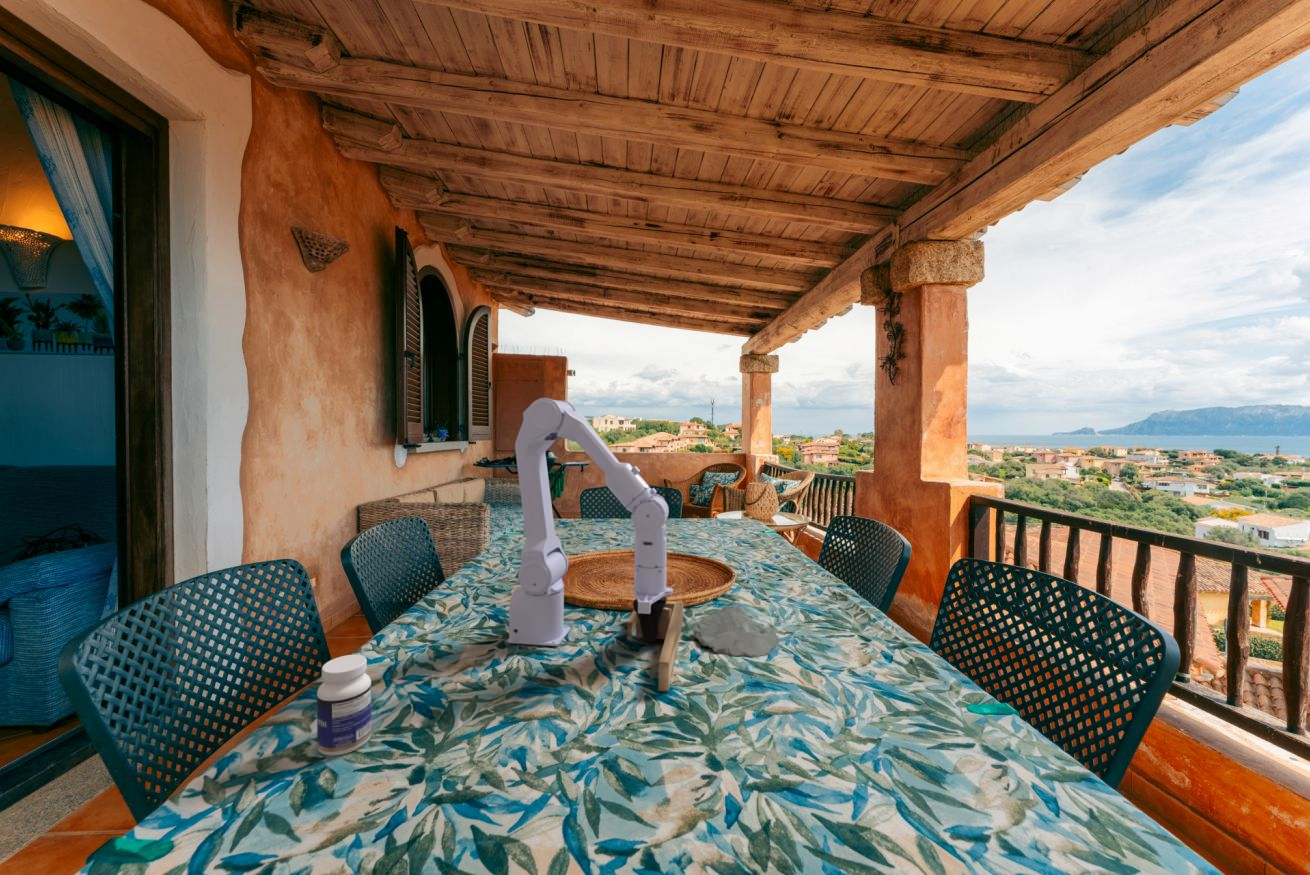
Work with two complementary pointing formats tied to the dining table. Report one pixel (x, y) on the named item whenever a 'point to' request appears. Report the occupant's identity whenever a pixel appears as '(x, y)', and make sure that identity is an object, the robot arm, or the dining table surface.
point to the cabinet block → (663, 624)
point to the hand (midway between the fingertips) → (649, 639)
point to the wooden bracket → (665, 642)
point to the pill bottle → (344, 706)
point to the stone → (735, 634)
